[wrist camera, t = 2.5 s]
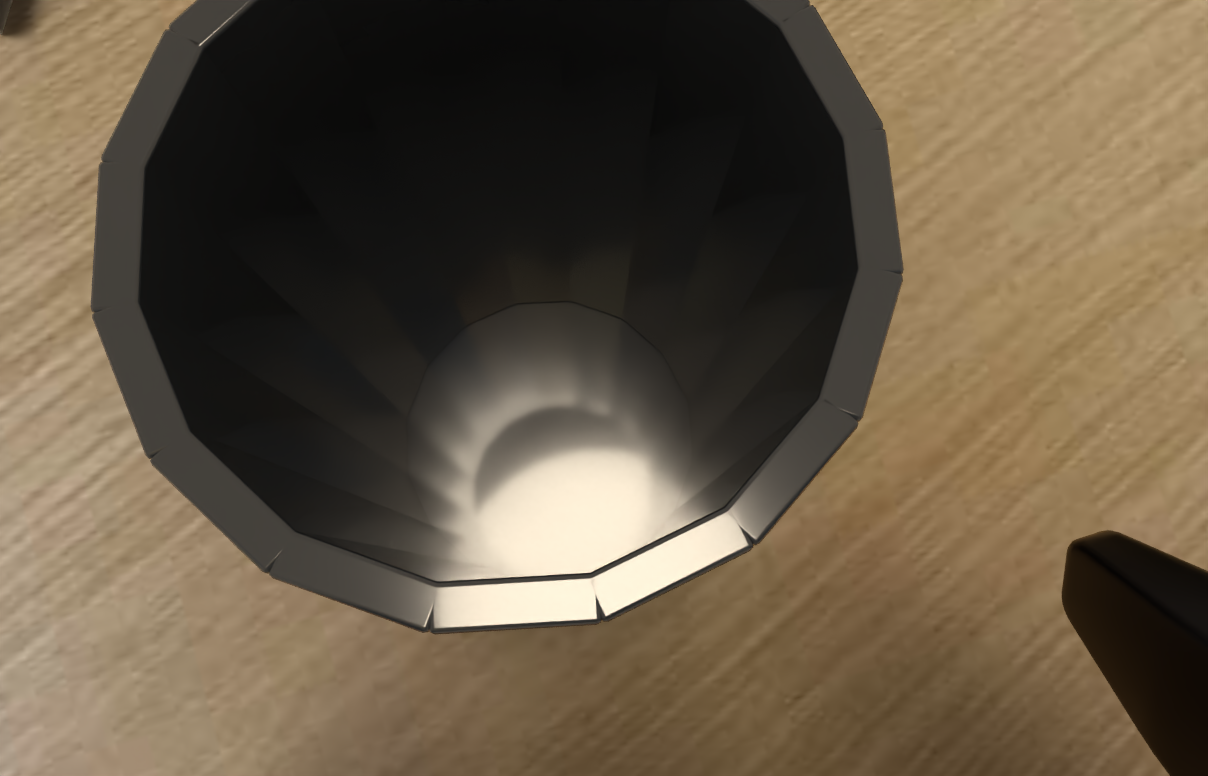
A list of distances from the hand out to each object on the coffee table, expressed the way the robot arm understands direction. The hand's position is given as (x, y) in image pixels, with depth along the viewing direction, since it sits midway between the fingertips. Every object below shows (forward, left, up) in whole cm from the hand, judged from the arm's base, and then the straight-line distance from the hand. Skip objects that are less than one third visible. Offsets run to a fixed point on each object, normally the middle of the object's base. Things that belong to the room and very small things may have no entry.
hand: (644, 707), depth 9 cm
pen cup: (+4, -1, -11) cm, 12 cm away
